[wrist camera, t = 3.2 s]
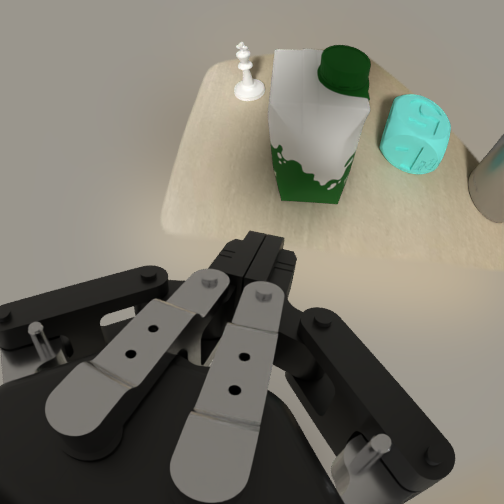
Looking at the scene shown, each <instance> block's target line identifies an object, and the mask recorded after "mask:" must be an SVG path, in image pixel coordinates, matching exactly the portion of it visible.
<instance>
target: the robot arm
mask: <svg viewBox="0 0 504 504" xmlns="http://www.w3.org/2000/svg"><path fill="white" fill-rule="evenodd" d="M468 186H469V192H470V195H471V198H472V200H473V202H474V204H475V206H476V207H477V209H478V210H479V211H480V212H481V213H482V214H483V215H484V216H485V217H486V218H487V219H489V220H491V221H493V222H496V223H502V222H504V134H503V136H502V137H501V138H500V139H499V141H498V142H497V143H496V144H495V145H494V147H493V148H492V149H491V150H490V151H489V153H488V154H487V155H486V156H485V157H484V159H483V160H482V161H481V162H480V163H479V164H478V166H477V167H476V168H475V169H474V170H473V171H472V173H471V174H470V177H469V182H468ZM283 245H284V238H283V237H278V236H273V235H269V234H264V233H259V232H254V231H249V232H248V234H247V235H246V237H245V238H244V240H239V239H234V240H232V241H230V242H228V243H227V244H226V245H225V247H224V248H223V250H222V251H221V252H220V253H219V255H218V256H217V257H216V259H215V260H214V262H213V263H212V264H211V265H210V267H209V268H208V269H202V270H198V271H196V272H194V273H193V274H192V275H191V276H190V277H189V278H188V279H187V280H186V281H176V280H168V274H167V272H166V270H164V269H163V268H161V267H158V266H143V267H139V268H135V269H131V270H127V271H124V272H120V273H116V274H113V275H109V276H105V277H101V278H98V279H94V280H90V281H87V282H83V283H79V284H76V285H72V286H68V287H65V288H61V289H58V290H54V291H50V292H46V293H43V294H39V295H36V296H32V297H29V298H25V299H21V300H18V301H14V302H11V303H7V304H4V305H1V306H0V350H1V361H2V374H3V383H4V384H3V385H1V386H0V504H404V503H405V502H407V501H408V500H410V499H412V498H414V497H415V496H417V495H418V494H420V493H422V492H423V491H425V490H426V489H428V488H429V487H431V486H433V485H434V484H435V483H437V482H438V481H440V480H441V479H442V478H444V477H446V476H447V475H448V474H449V473H450V472H451V470H452V469H453V467H454V463H455V453H454V450H453V448H452V446H451V444H450V443H449V442H448V440H447V439H446V438H445V437H444V436H443V435H442V433H441V432H440V431H439V430H438V429H437V427H436V426H435V425H434V424H433V423H432V422H431V420H430V419H429V418H428V417H427V416H426V415H425V413H424V412H423V411H422V410H421V409H420V408H419V406H418V405H417V404H416V403H415V402H414V401H413V399H412V398H411V397H410V396H409V395H408V394H407V393H406V391H405V390H404V389H403V388H402V387H401V386H400V385H399V383H398V382H397V381H396V380H395V379H394V378H393V376H392V375H391V374H390V373H389V372H388V371H387V370H386V369H385V367H384V366H383V365H382V364H381V363H380V362H379V361H378V359H376V357H375V356H374V355H373V354H372V353H371V352H370V350H369V349H368V348H367V347H366V346H365V345H364V344H363V343H362V341H361V340H360V339H359V338H358V337H357V336H356V335H355V334H354V333H353V331H352V330H351V329H350V328H349V327H348V326H347V325H346V324H345V322H344V321H343V320H342V319H341V318H340V317H339V316H338V315H337V314H336V313H334V312H333V311H331V310H328V309H325V308H318V307H316V308H310V309H307V310H305V311H304V312H302V311H300V310H297V309H296V308H294V307H293V306H292V305H291V304H290V303H289V301H288V295H289V292H290V289H291V284H292V279H293V275H294V270H295V265H296V260H297V258H296V256H295V253H294V252H293V251H289V250H284V249H283ZM132 306H134V309H135V315H136V316H135V317H133V318H130V319H126V320H123V321H120V322H117V323H113V324H110V325H107V326H100V320H101V318H102V317H103V316H104V315H106V314H108V313H112V312H116V311H119V310H122V309H126V308H129V307H132ZM213 358H214V359H213ZM212 360H213V361H212ZM211 362H212V364H211V366H210V367H208V366H209V365H210V363H211ZM272 364H273V365H275V366H277V367H279V368H280V369H282V370H284V371H286V372H285V377H286V379H287V381H288V383H289V384H290V386H291V388H292V389H293V391H294V392H295V394H296V396H297V397H298V399H299V400H300V402H301V403H302V405H303V406H304V408H305V409H306V411H307V412H308V414H309V416H310V417H311V419H312V420H313V422H314V423H315V425H316V427H317V428H318V430H319V431H320V433H321V434H322V436H323V437H324V439H325V440H326V442H327V443H328V445H329V446H330V448H331V449H332V451H333V452H334V454H335V455H336V458H335V460H334V461H333V463H332V466H331V474H332V477H333V480H334V482H335V485H336V488H335V486H334V485H333V483H332V481H331V480H330V478H329V476H328V475H327V473H326V471H325V470H324V468H323V466H322V465H321V463H320V461H319V459H318V458H317V456H316V454H315V452H314V451H313V449H312V447H311V446H310V444H309V442H308V440H307V439H306V437H305V435H304V433H303V431H302V430H301V428H300V426H299V425H298V423H297V421H296V419H295V417H294V415H293V414H292V412H291V411H290V409H289V408H288V407H287V405H286V404H285V403H284V402H283V401H282V400H281V399H280V398H278V397H277V396H276V395H275V394H273V393H272V392H270V391H269V390H268V385H269V380H270V375H271V370H272Z"/></svg>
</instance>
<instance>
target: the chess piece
mask: <svg viewBox="0 0 504 504" xmlns="http://www.w3.org/2000/svg"><path fill="white" fill-rule="evenodd" d="M236 47H237V48H238V49H240V51H238V52H237V53H236V56H237V58H238V59H239V60H240V63H239V65H238V68H239V69H241V70H243V80H242V81H240V82H238V83H237V84H236V86H235V88H234V93H235V96H236V97H237V98H238V99H240V100H243V101H253V100H256V99H258V98H260V97H261V96H263V94H264V93H265V87H264V84H263V83H262V82H261V81H260V80H258V79H253V78H252V75H251V72H250V68H252V66H253V64H252V62H250V61H249V57H250V51H248V47H246V46H244V43H243V42H240V43H239V44H238V45H237V46H236Z"/></svg>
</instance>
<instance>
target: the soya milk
mask: <svg viewBox="0 0 504 504" xmlns="http://www.w3.org/2000/svg"><path fill="white" fill-rule="evenodd" d="M370 67H371V62H370V59H369V58H368V56H367V55H366V54H365V53H363V52H362V51H360V50H359V49H356V48H354V47H350V46H345V45H334V46H330V47H328V48H326V49H325V50H315V49H303V50H285V49H280V50H279V49H276V50H275V55H274V63H273V71H272V79H271V87H270V97H269V107H268V124H269V133H270V142H271V152H272V161H273V168H274V173H275V177H276V180H277V184H278V188H279V192H280V196H281V201H299V202H315V203H329V204H338V201H339V199H340V196H341V194H342V191H343V188H344V186H345V183H346V180H347V178H348V175H349V172H350V168H351V165H352V162H353V159H354V155H355V152H356V148H357V145H358V142H359V138H360V135H361V131H362V128H363V125H364V122H365V120H366V118H367V116H368V114H369V112H370V106H369V100H370V98H369V93H368V90H369V78H368V77H369V71H370Z"/></svg>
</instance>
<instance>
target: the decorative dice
mask: <svg viewBox="0 0 504 504" xmlns="http://www.w3.org/2000/svg"><path fill="white" fill-rule="evenodd" d="M450 130H451V125H450V122H449V120H448V117H447V116H446V114H445V113H444V112H443V110H442V109H441V108H440V107H439V106H438V105H437V104H436V103H434V102H433V101H431V100H429V99H428V98H425V97H423V96H419V95H413V94H408V95H402V96H398V97H396V98H395V99H394V101H393V104H392V107H391V110H390V113H389V116H388V119H387V122H386V125H385V129H384V132H383V135H382V139H381V143H380V147H379V148H380V150H381V152H382V154H383V155H384V157H385V158H386V159H387V160H388V161H389V162H390V163H391V164H392V165H393V166H395V167H396V168H398V169H400V170H402V171H405V172H408V173H412V174H425V173H429V172H432V171H434V170H435V169H436V168H437V167H438V165H439V164H440V162H441V160H442V158H443V156H444V153H445V151H446V148H447V145H448V141H449V137H450Z"/></svg>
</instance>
